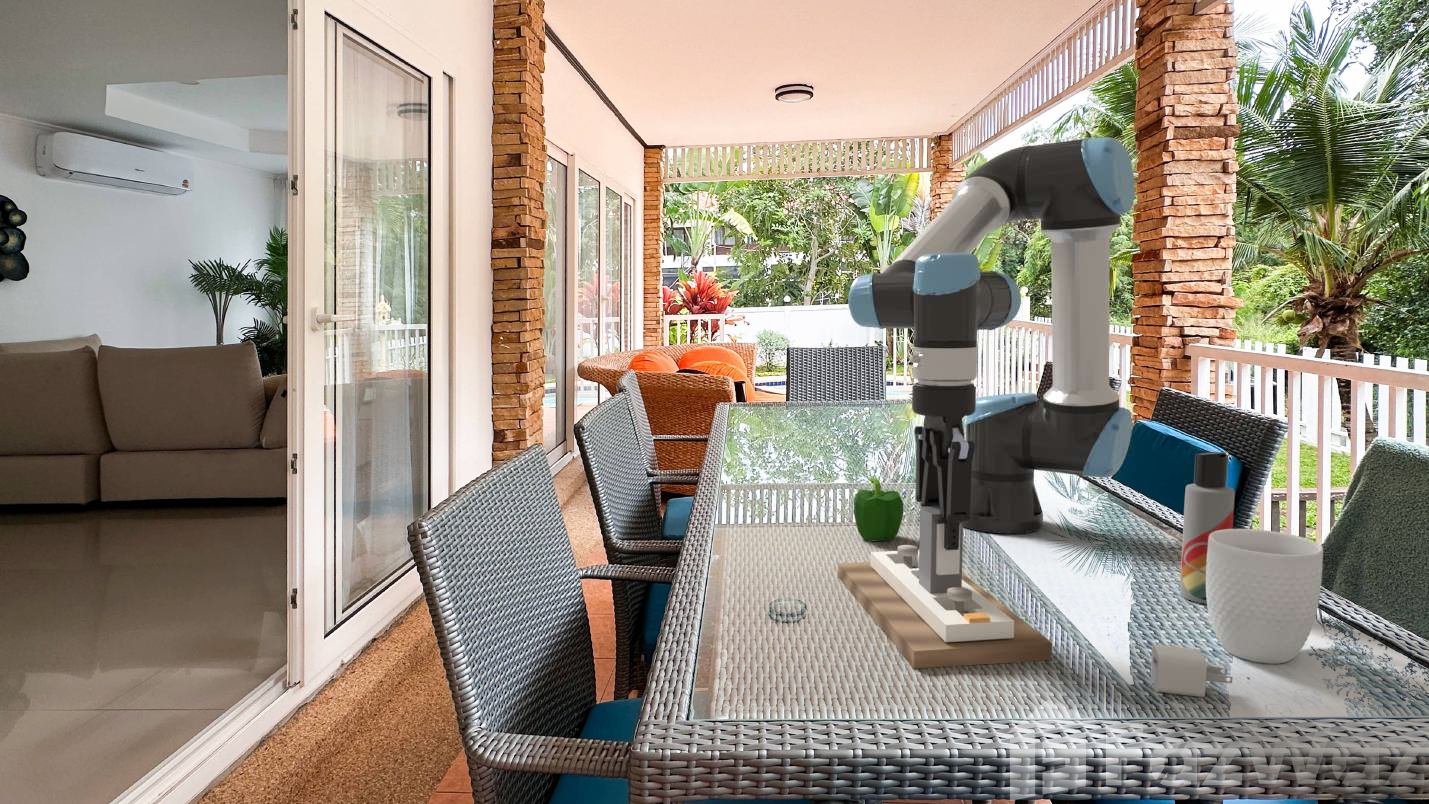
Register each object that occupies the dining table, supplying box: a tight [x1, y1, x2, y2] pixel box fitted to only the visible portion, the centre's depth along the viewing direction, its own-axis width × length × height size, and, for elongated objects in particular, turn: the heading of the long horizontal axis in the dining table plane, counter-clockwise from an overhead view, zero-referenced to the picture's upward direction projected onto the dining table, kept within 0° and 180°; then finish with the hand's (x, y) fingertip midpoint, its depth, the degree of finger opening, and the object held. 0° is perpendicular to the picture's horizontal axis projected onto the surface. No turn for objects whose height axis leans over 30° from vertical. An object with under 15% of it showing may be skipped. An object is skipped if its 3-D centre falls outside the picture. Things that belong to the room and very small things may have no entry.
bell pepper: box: [853, 477, 904, 542], centre depth 147 cm, size 8×8×10 cm
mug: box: [1206, 528, 1324, 665], centre depth 99 cm, size 15×11×13 cm
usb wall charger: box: [1150, 643, 1234, 698], centre depth 90 cm, size 4×7×4 cm, turn 73°
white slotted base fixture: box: [870, 506, 1014, 642], centre depth 111 cm, size 28×8×12 cm, turn 7°
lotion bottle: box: [1179, 451, 1236, 605], centre depth 116 cm, size 6×6×20 cm
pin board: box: [837, 544, 1053, 669], centre depth 112 cm, size 32×16×6 cm, turn 7°
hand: (940, 567), depth 109 cm, fingers closed on white slotted base fixture, 4 cm apart
